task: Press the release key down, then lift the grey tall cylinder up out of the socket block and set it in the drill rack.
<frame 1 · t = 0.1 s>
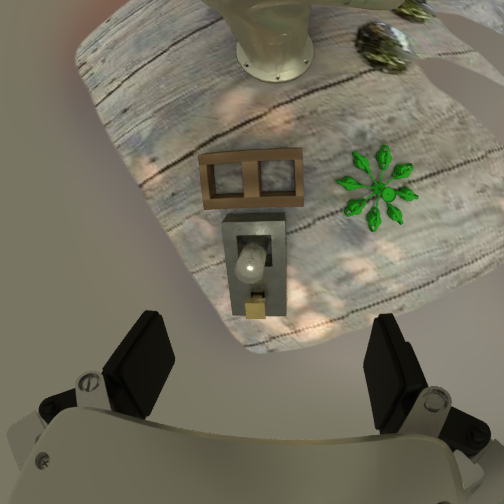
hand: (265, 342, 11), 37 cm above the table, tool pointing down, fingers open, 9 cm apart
grey tall cylinder: (258, 240, 49), resting in socket block
socket block: (259, 260, 50), on the table
chandelier: (375, 186, 43), on the table
release key: (257, 300, 47), point 6 cm above the table, slide at 0.0 cm
drill rack: (253, 176, 44), on the table
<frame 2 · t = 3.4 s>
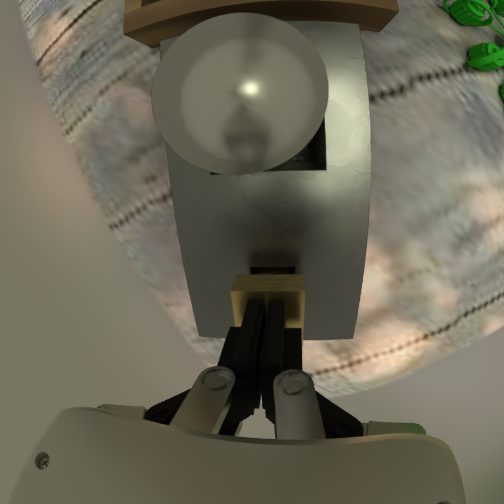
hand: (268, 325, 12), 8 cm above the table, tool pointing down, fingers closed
grey tall cylinder: (270, 120, 16), resting in socket block
socket block: (274, 180, 17), on the table
chandelier: (499, 46, 9), on the table
release key: (273, 284, 15), point 5 cm above the table, slide at 0.9 cm, touching gripper
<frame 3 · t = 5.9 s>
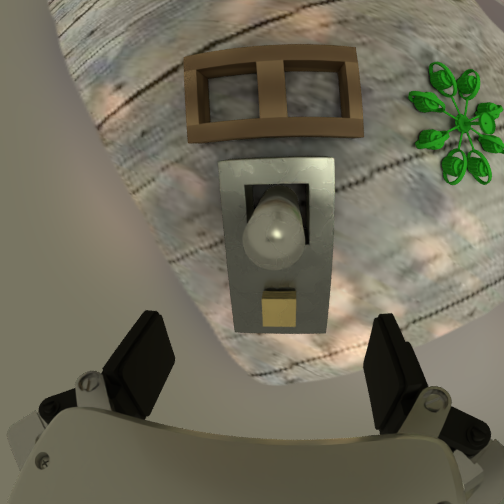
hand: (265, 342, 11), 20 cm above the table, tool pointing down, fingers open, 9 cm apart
grey tall cylinder: (279, 203, 28), resting in socket block
socket block: (280, 239, 30), on the table
chandelier: (453, 124, 22), on the table
release key: (280, 295, 28), point 4 cm above the table, slide at 2.1 cm
drill rack: (274, 96, 24), on the table
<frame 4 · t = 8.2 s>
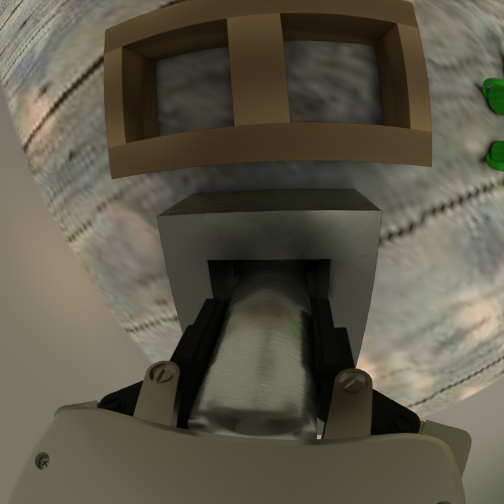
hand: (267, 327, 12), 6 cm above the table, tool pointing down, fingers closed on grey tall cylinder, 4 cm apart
grey tall cylinder: (275, 266, 18), resting in socket block, touching gripper
socket block: (277, 315, 19), on the table
drill rack: (265, 82, 13), on the table
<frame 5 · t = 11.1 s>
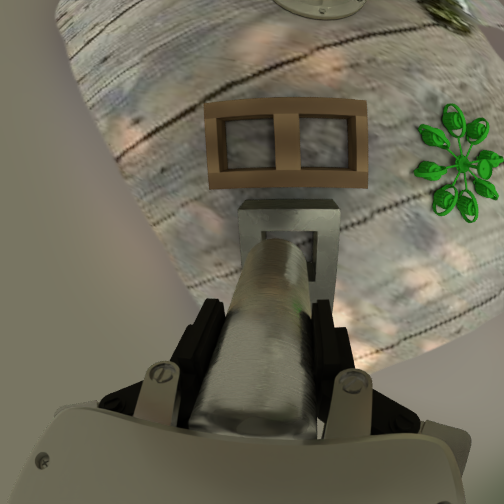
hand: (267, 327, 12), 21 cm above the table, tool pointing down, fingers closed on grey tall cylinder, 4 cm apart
grey tall cylinder: (275, 267, 18), point 14 cm above the table, touching gripper
socket block: (289, 271, 34), on the table
chandelier: (453, 162, 26), on the table
drill rack: (287, 142, 28), on the table
when the fingers open (8 cm above the table, at t = 14.4 s): grey tall cylinder drops 2 cm, resting in drill rack.
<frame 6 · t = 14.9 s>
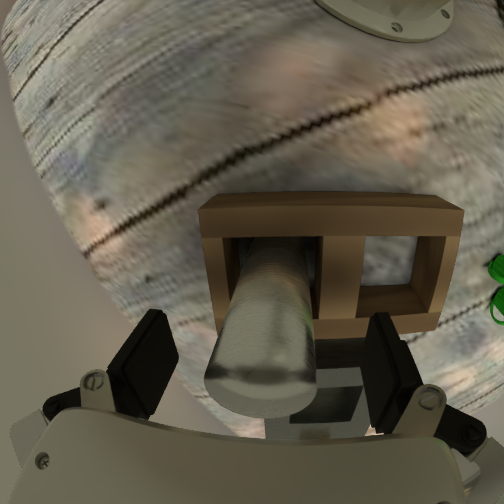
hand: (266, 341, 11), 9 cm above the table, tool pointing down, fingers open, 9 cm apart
grey tall cylinder: (277, 253, 20), resting in drill rack
socket block: (317, 390, 25), on the table
drill rack: (332, 253, 19), on the table
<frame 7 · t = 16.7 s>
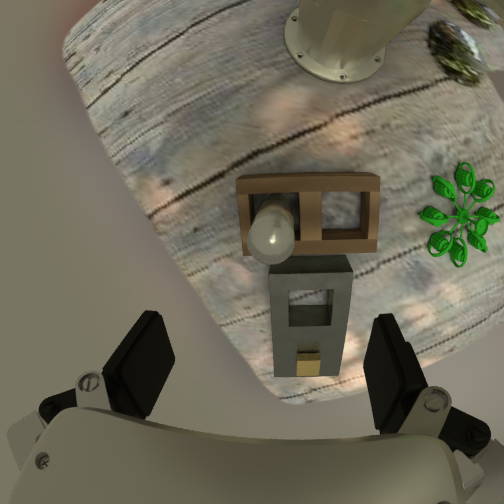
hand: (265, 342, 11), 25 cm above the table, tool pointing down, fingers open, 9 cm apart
grey tall cylinder: (276, 208, 34), resting in drill rack
socket block: (308, 312, 39), on the table
chandelier: (455, 211, 30), on the table
release key: (307, 352, 38), point 4 cm above the table, slide at 2.1 cm
drill rack: (308, 208, 33), on the table
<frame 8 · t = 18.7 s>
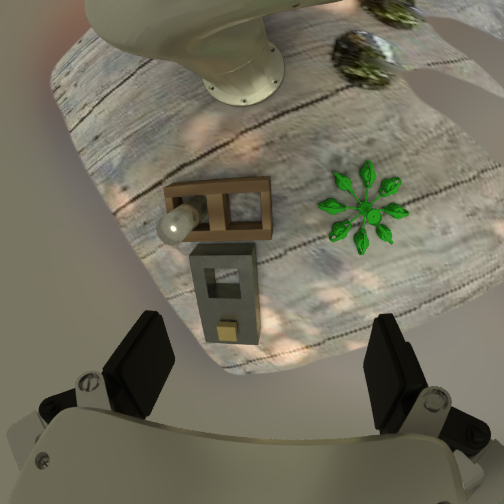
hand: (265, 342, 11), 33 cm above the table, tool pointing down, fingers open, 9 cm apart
grey tall cylinder: (199, 207, 44), resting in drill rack
socket block: (231, 289, 50), on the table
chandelier: (361, 205, 41), on the table
release key: (230, 322, 48), point 4 cm above the table, slide at 2.1 cm
drill rack: (222, 206, 44), on the table
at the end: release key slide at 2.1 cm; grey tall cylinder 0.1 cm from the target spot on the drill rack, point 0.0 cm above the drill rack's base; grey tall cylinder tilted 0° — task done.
